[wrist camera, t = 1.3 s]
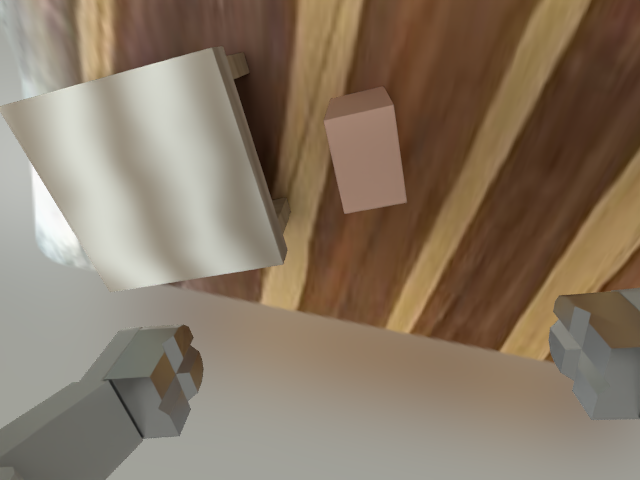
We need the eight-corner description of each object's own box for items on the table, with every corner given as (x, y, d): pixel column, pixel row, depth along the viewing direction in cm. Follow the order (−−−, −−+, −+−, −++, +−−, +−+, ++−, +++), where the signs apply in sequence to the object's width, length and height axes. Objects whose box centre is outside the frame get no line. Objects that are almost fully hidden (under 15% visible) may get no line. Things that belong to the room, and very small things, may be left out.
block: (383, 86, 28) (393, 104, 21) (394, 163, 31) (406, 202, 24) (330, 98, 29) (323, 120, 22) (346, 172, 31) (344, 213, 24)
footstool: (247, 43, 27) (211, 47, 20) (297, 215, 34) (283, 264, 27) (80, 88, 30) (-3, 106, 23) (157, 241, 36) (110, 292, 29)
